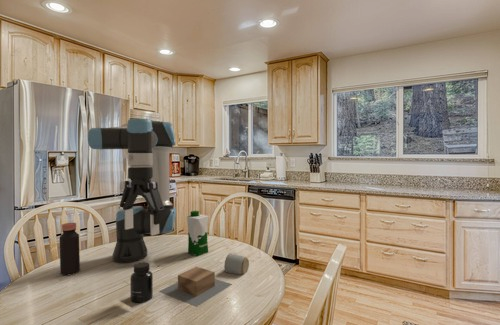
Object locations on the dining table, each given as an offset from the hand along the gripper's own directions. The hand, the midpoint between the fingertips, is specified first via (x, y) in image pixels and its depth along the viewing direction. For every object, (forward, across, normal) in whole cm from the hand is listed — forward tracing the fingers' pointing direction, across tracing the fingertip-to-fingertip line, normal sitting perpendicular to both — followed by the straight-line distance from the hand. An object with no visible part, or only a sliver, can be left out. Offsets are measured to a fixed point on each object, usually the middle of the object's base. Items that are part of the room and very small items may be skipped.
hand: (141, 231), depth 92 cm
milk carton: (+23, -17, +44) cm, 52 cm away
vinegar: (+23, -45, -2) cm, 51 cm away
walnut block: (+22, +10, +15) cm, 28 cm away
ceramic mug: (+23, +13, +35) cm, 44 cm away
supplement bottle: (+23, 0, 0) cm, 23 cm away
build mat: (+23, +10, +15) cm, 29 cm away
